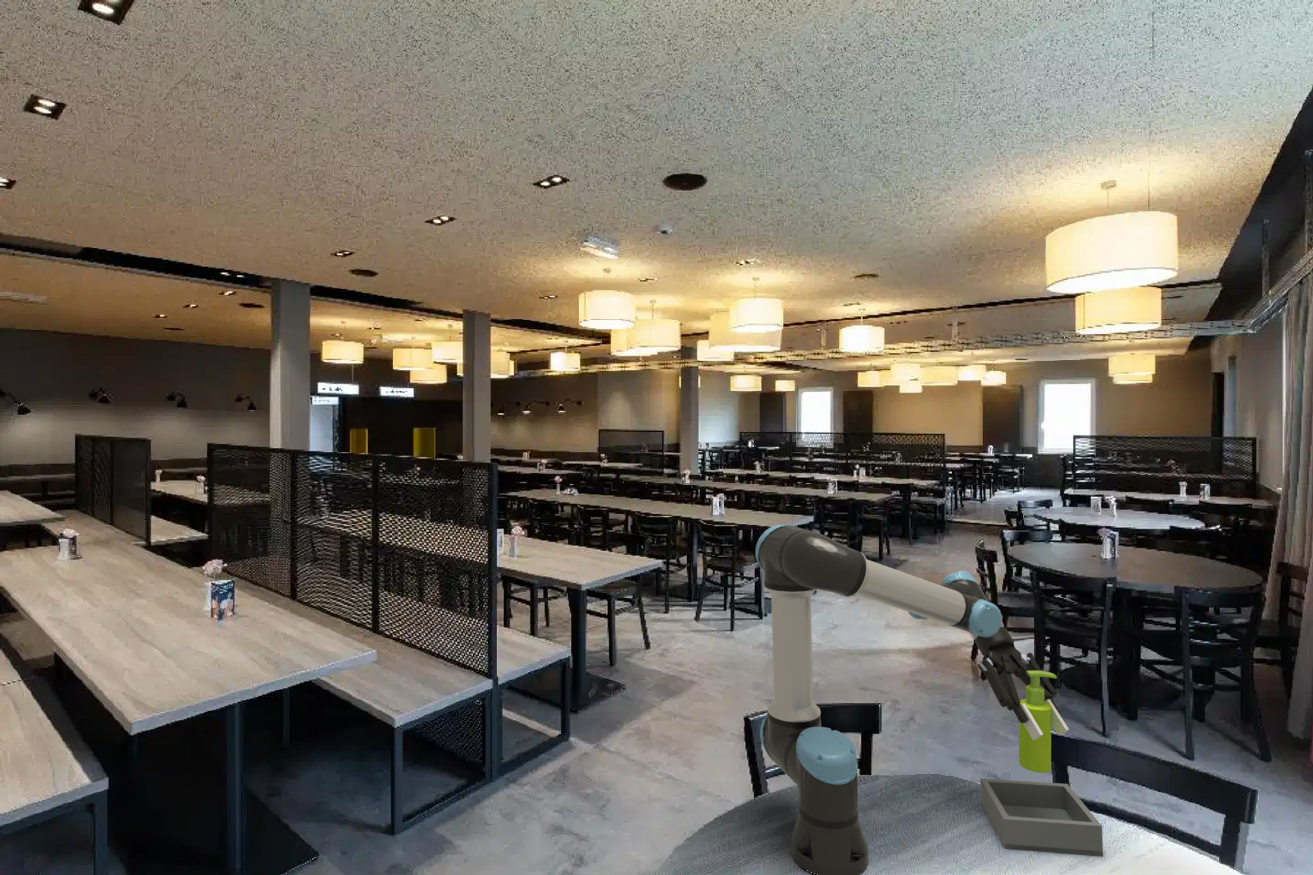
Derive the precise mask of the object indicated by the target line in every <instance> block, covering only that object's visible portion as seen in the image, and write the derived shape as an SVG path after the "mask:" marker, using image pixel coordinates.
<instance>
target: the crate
mask: <svg viewBox="0 0 1313 875" xmlns="http://www.w3.org/2000/svg"><path fill="white" fill-rule="evenodd" d="M979 779H980V780H979V782H980V806H981V808H982V809H983V811H984V813H985V815H986V816H987V819H988V820H989V823H990V824H991V826H992V828H993V830H994V831H995V834H996V835H997V838H998V839H999V841H1000V843H1001V844H1002V846H1003V848H1004V849H1006V850H1016V851H1017V850H1018V851H1027V852H1028V851H1030V852H1042V853H1043V852H1045V853H1053V854H1054V853H1057V854H1068V855H1078V856H1079V855H1082V856H1093V857H1103V856H1104V848H1103V846H1104V845H1103V844H1104V842H1103V825H1102V824H1101V823H1100V822H1099V820H1098V819H1097V818H1096V817H1095V816H1094V814H1093V812H1091V810H1090V809H1089V808H1088V807H1087V805H1086V804H1084V802H1083V801H1082V800H1081V799H1080V798H1079V796H1078V795H1077V794H1076V792H1075V791H1074V790H1073V789H1072V788H1071V786H1070V785H1069V784H1068V783H1058V782H1057V783H1056V782H1045V781H1043V782H1042V781H1026V780H1025V781H1023V780H1013V779H1012V780H1009V779H1008V780H1007V779H997V778H995V779H993V778H979Z"/></svg>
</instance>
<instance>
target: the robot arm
mask: <svg viewBox="0 0 1313 875" xmlns="http://www.w3.org/2000/svg"><path fill="white" fill-rule="evenodd" d="M755 559H756V561H757V564H758V565H759V567H760V569H762V570H763V586H764V589H765V590H766V591H767V592H768V593H769V594H770V596H771V597H770V598H771V634H772V636H771V637H772V668H773V669H772V672H773V673H772V674H773V677H772V678H773V700H772V701H771V702H770V703H769V704H768V705H767V713H766V716H765V718H763V719H762V722H761V723H760V724H761V725H760V731H759V735H760V736H759V737H760V743H761V745H762V747H763V750H764V751H765V752H766V754H767V756H768V757H769V759H771V761H772V762H774V764H776V766H778V767H779V768H780V769H781V770H782V771H783V772H784V773H785V774H786V775H787V776H788V777H789V779H791V780H792V781H793V783H794V784H795V785H796V786H797V790H798V792H797V793H798V795H797V796H798V815H797V818H796V821H795V825H794V827H793V828H794V829H793V831H792V835H791V837H790V850H791V852H790V853H791V856H792V858H793V860H794V862H795V861H796V862H797V863H796V862H795V863H796V864H797V865H798V866H799V867H800V866H801V867H800V868H802V869H803V870H804V869H805V871H806V870H808V871H809V872H808V871H807V872H808V873H810V872H812V873H815V874H818V875H861V874H862V873H863V872H865V870H866V869H867V867H868V865H869V860H870V859H869V847H868V846H869V845H868V842H867V841H866V837H865V834H864V831H863V829H862V826H861V823H860V820H859V800H858V799H859V798H858V797H859V796H858V794H859V793H858V770H859V763H858V757H857V754H856V753H857V752H856V748H855V745H854V743H853V742H852V741H851V739H850V738H849V737H848V736H846V735H845V734H844V733H842V732H840V731H839V730H836V729H835V730H832V729H831V728H830V727H825V726H822V720H821V719H822V716H821V713H822V712H821V708H820V707H819V706H818V705H817V704H816V703H815V702H814V682H813V678H814V677H813V645H812V644H813V643H812V639H813V637H812V606H811V605H812V604H811V603H812V601H811V600H812V599H811V597H812V596H811V595H812V594H813V593H815V591H816V590H819V591H825V592H829V593H834V594H836V595H837V594H838V595H841V596H843V597H847V598H851V597H853V596H855V595H857V596H858V597H859V596H860V597H862V598H866V599H867V600H868V599H869V600H872V601H875V602H878V603H879V604H880V603H881V604H883V605H887V606H890V607H892V608H896V609H899V610H902V611H904V612H908V614H909V615H910V617H912V618H914V619H916V620H925V621H926V620H929V619H930V620H933V621H935V622H937V623H942V624H944V625H947V626H950V627H953V628H956V629H959V630H961V631H964V632H967V633H969V634H970V636H971V638H972V639H973V640H974V643H975V644H976V646H977V649H978V650H979V652H980V654H981V655H982V656H984V657H985V658H983V660H981V661H980V662H979V663H978V664H977V667H978V669H979V670H980V671H981V672H982V674H984V676H985V678H986V680H987V682H988V684H989V686H990V687H991V689H992V691H993V693H994V695H995V698H996V700H997V701H998V703H999V705H1000V706H1001V707H1002V708H1007V710H1008V711H1013V712H1014V714H1015V717H1016V718H1017V719H1018V722H1019V721H1020V722H1021V723H1023V724H1024V726H1025V727H1026V729H1027V731H1028V733H1029V734H1030V736H1031V738H1032V739H1033V740H1036V739H1038V738H1039V737H1041V736H1042V735H1043V733H1042V731H1041V730H1040V728H1039V726H1038V725H1037V723H1036V721H1035V720H1034V718H1033V716H1032V715H1031V713H1030V711H1029V710H1028V708H1027V706H1026V705H1025V703H1024V704H1021V705H1020V700H1021V699H1020V698H1019V695H1018V691H1017V688H1016V685H1015V683H1014V680H1013V679H1014V678H1013V676H1012V674H1013V675H1014V676H1015V677H1016V678H1018V679H1020V680H1021V682H1023V684H1024V685H1025V686H1027V685H1030V684H1031V676H1029V675H1028V674H1027V671H1043V670H1042V668H1040V666H1039V664H1038V663H1037V662H1036V659H1035V656H1034V654H1033V653H1032V652H1028V653H1021V651H1019V650H1018V649H1017V648H1016V646H1015V641H1014V639H1013V637H1012V636H1011V634H1010V632H1009V631H1008V629H1007V628H1006V627H1004V626H1005V625H1004V622H1003V621H1002V620H1003V618H1002V613H1001V612H1002V611H1001V610H1000V608H999V607H998V606H997V605H996V604H994V603H992V602H990V601H989V600H988V598H987V596H986V595H985V593H984V591H983V589H982V588H981V586H980V584H979V582H977V580H976V579H975V577H974V576H973V575H972V573H970V572H969V571H966V570H957V571H956V572H951V573H950V574H948V575H946V576H945V577H944V578H943V579H942V581H941V583H939V584H938V583H934V582H931V581H929V580H926V579H924V578H920V577H917V576H915V575H912V574H910V573H906V572H903V571H901V570H898V569H895V568H892V567H889V566H887V565H883V564H881V563H879V562H875V561H872V560H869V559H867V558H866V556H865V554H864V553H863V552H861V551H858V550H856V549H854V548H851V547H848V546H846V545H844V544H842V543H840V542H837V541H836V540H834V539H832V538H830V537H828V536H826V535H824V534H821V533H820V532H816V531H813V530H808V529H804V528H801V527H797V526H795V525H793V524H792V525H791V524H790V525H789V524H776V525H773V526H771V527H769V528H768V529H766V530H765V531H764V532H763V533H762V534H761V535H760V537H759V538H758V540H757V542H756V545H755ZM1040 686H1041V687H1042V688H1044V702H1045V703H1047V704H1049V705H1050V706H1051V727H1053V729H1054V730H1055V732H1056V734H1057V735H1058V736H1062V735H1064V734H1065V733H1066V732H1069V730H1070V729H1069V727H1068V726H1067V724H1066V722H1065V721H1064V719H1063V718H1062V716H1061V711H1060V710H1059V708H1058V706H1057V705H1056V703H1055V702H1054V700H1053V699H1054V698H1055V696H1057V695H1058V692H1057V690H1056V688H1055V687H1054V686H1053V684H1052V683H1051V681H1050V680H1049V678H1048V677H1040ZM812 873H811V874H812Z"/></svg>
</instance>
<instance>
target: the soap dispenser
mask: <svg viewBox="0 0 1313 875" xmlns="http://www.w3.org/2000/svg"><path fill="white" fill-rule="evenodd" d="M1027 674H1028V675H1029V676H1031V684H1030V685H1027V686H1026V685H1025V686H1026V687H1025V698H1024V699H1019V700H1020V705H1021V704H1024V703H1025V705H1026V706H1027V708H1028V710H1029V711H1030V713H1031V715H1032V716H1033V718H1034V720H1035V721H1036V723H1037V725H1038V726H1039V728H1040V730H1041V731H1042V733H1043V735H1042V736H1041V737H1039V738H1038V739H1036V740H1033V739H1032V738H1031V736H1030V734H1029V733H1028V731H1027V729H1026V727H1025V726H1024V724H1023V723H1021V722H1020V721H1019V720H1018V724H1019V725H1018V726H1019V727H1018V740H1019V742H1018V763H1019V766H1021V767H1022V768H1023V769H1026V770H1028V771H1030V772H1033V773H1034V772H1035V773H1042V774H1045V773H1049V772H1050V771H1051V770H1052V724H1051V706H1050V705H1049V704H1047V703H1045V702H1044V688H1042V687H1041V686H1040V677H1047V678H1051V679H1057V678H1058V676H1057V675H1056V674H1055V673H1052V672H1049V671H1045V670H1042V671H1027Z"/></svg>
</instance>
